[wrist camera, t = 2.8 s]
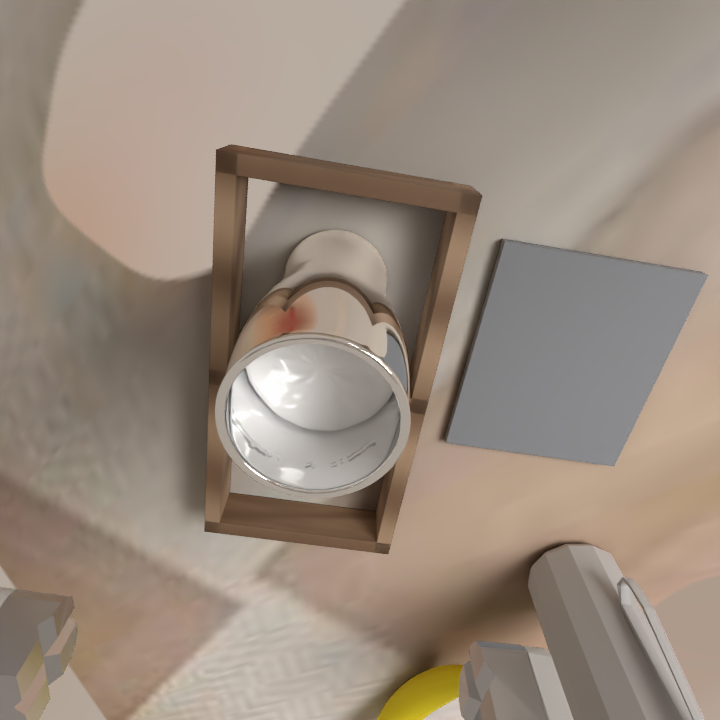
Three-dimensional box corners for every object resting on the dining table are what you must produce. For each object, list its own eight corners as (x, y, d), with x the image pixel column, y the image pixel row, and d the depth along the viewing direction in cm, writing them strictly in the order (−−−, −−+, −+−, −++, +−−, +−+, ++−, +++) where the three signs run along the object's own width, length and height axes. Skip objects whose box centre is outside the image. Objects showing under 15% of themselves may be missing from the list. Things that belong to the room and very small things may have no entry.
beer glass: (377, 206, 28) (387, 303, 15) (407, 317, 31) (437, 481, 18) (259, 240, 29) (171, 360, 16) (299, 345, 32) (253, 520, 19)
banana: (490, 628, 45) (508, 705, 39) (375, 730, 52) (376, 807, 47) (463, 617, 44) (477, 693, 39) (351, 722, 52) (349, 798, 46)
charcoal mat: (502, 238, 29) (504, 241, 29) (701, 272, 30) (707, 275, 29) (444, 437, 36) (445, 442, 35) (610, 460, 36) (614, 466, 36)
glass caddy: (231, 144, 27) (216, 149, 24) (470, 185, 28) (482, 195, 25) (215, 501, 38) (204, 531, 36) (386, 523, 39) (388, 554, 37)
